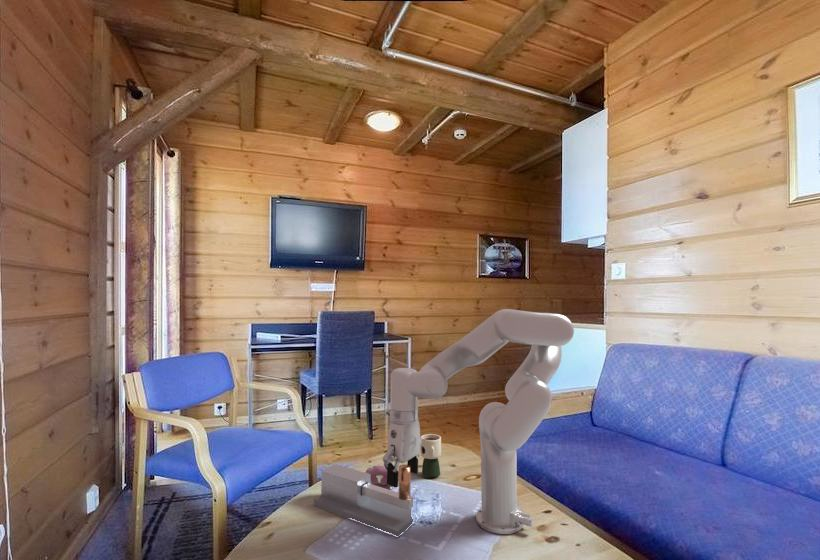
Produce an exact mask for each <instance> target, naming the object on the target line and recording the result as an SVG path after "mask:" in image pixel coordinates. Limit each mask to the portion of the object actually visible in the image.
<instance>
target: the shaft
mask: <svg viewBox="0 0 820 560" xmlns="http://www.w3.org/2000/svg"><path fill="white" fill-rule="evenodd" d="M411 492H412V491H411V473H410V466H409V465H407V464H405V463H403V464H399V466H398V491H394V490H392V489H391V490H390V489H388V488H384V487H382V486H378V485H373V484H372V483H371V484H369V483H364V484H362V485H361V495H364V496H367V497H370V498H373V499H376V500H379V501H382V502H385V503H388V504H391V505H394V506H397V507H400V508H403V509H406V510H409V509H411V508H412V507H413V508H414V497H413V496H411Z"/></svg>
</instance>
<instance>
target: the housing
mask: <svg viewBox="0 0 820 560" xmlns="http://www.w3.org/2000/svg"><path fill="white" fill-rule="evenodd" d="M365 472H366V471H365ZM365 472H364V471H361V470H357V469H355V468H351V467H346V466H343V465H341V464H337V463H334V464H332V465H331V466H328V467H326V468H324V469H323V470H321V483H320V484H321V486H320V487H321V489H320V490H321V491H320V492H321V496H323V497H326V498H328V499H331V500H334V501H337V502H340V503H342V504H345V505H348V506H351V507H353V508H356V509H358V508H359V507H361V506H362V505H364V504H365V503H367V502H368V501H370V500H371V498H370V497H367V496H364V495H361V485H362V484H364V483H369V484H372V483H371V474H368V473H365Z"/></svg>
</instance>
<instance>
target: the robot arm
mask: <svg viewBox="0 0 820 560" xmlns="http://www.w3.org/2000/svg"><path fill="white" fill-rule="evenodd" d="M574 333H575V329H574V325H573V322H572V321H571V320H570V319H569V318H568V317H567V316H566V315H563V314H560V313H551V312H535V311H528V310H527V311H526V310H519V309H513V308H510V309H509V308H503V309H499V310H497V311H496V312H494V313H493V314H491V316H489V317H487V319H485V320H484V321H483V322H482V323H480V324H479V325H478V326H476V327H475V328H474V329H473V330H472V331H470V332H469V333H468V334H466V335H465V336H463V337H461V339H459V340H458V341H456V342H454V343H453V344H452V345H450V346H448V347H447V348H445V349H443V350H442V351H441V352H440V353H439V354H436V356H434V357H433V358H432V359H430V360H429V361H428V362H427V363H426V364H424V365H423V366H422V367H421V368H420V369H419V371H417V370H416V369H414V368H410V367H409V368H408V367H399V368H395V369H393V370H392V371H391V374H390V407H389V408H390V412H389V415H390V416H389V421H390V422H389V425H388V426H389V427H388V436H387V449H386V450H387V451H386V452H385V453H384V455H383V456H382V460H383V461H382V462H383V464H384V465H383V466H385V467H386V470H387V484H386V485H388V487H389V486H392V488H399V466H400V464H405V463H407V464H406V465H409V466H410V474H413V475H414V474H415V475H418V472H419V459H420V454H421V450H420V449H421V442H422V439H421V428H420V420H419V417H418V416H419V414H418V413H419V398H423V399H430V400H431V399H432V400H433V399H435V400H436V399H439V398H442V397H443V396H444V395H445V394H446V392H447V390H448V385H449V384H448V380H449V379H451V377H453V376H454V375H455V374H456V373H459V372H460V371H461V370H464V369H466V368H468V367H474V366H477V365H480V364H482V363H484V362H486V360H488V359H489V358H490V357H491V356H493V355H494V354H495V353H496V352H498V351H499V350H500V349H502V348H503V347H504V346H505V345H507V344H508V343H509V342H511V343H516V344H522V345H530V346H531V347H530V351H529V352H528V355H527V356H526V357H525V359H524V360H523V362H522V363H520V366H518V368H517V369H516V370H515V372H514V373H513V374H512V375H511V376H510V378H509V379H508V381H507V382H506V384H505V387H504V394H505V397H506V398H507V400H508V402H507V403H506V404H505V403H502V402H499V401H493V402H489V403H487V404H486V405H484V407H483V408H482V409H481V411H480V413H479V416H478V429H479V439H480V440H479V441H480V473H481V474H480V477H481V479H480V481H481V482H480V483H481V484H480V487H481V489H480V490H481V495H480V496H481V508H480V509H478V510H477V511H476V513H475V520H476V523H477V525H478V526H479V527H481V528H482V529H484V530H486V531H487V532H490V533H493V534H497V535H498V534H499V535H511V534H514V533H517V532H520V531H521V530H522V529H523V527H524V525H525V526H526V527H531V528H532V527H533V525H534V519H533V518H532V515H531V513H528V512H527V513H526V512H523V511H522V510H521V504H519V503H518V484H517V483H518V482H517V481H518V476H517V473H518V471H517V469H518V468H517V467H518V466H517V465H518V463H517V462H518V461H517V459H518V458H517V456H518V455H517V450H518V449H520V448H521V447H522V446H523V445H524V444H525V443H526V442H527V441H528V440H529V438H530V437H531V436H532V434H533V433H534V432H535V430H536V429H537V428H538V426H540V424H541V423H542V422H543V420H544V419H545V418H546V416H547V414H548V413H549V411H550V408H551V406H552V400H553V395H552V392H551V389H550V388H549V387H548V384H549V383H550V382H551V380H552V378H553V377H554V376H555V374H556V373H557V371H558V369H559V367H560V364H561V362H562V361H561V360H562V354H563V353H562V352H563V351H562V347H563V346H566V344H568V343H569V342H571V340H572V339H573V337H574ZM393 462H394V465H393Z"/></svg>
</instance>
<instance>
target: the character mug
mask: <svg viewBox="0 0 820 560" xmlns="http://www.w3.org/2000/svg"><path fill="white" fill-rule="evenodd" d="M420 439H422V442H421V449H420V456H421V457H422V458H423V460H422V468H421V474H422V476H423V477H425V478H431V479H432V478H435V477H439V476H440V475H441V470H440V467H441V466H440V462H439V461H440V460H439V458H441V456H442V436H440V435H438V434H435V433H426V434H423V435H420Z"/></svg>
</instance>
